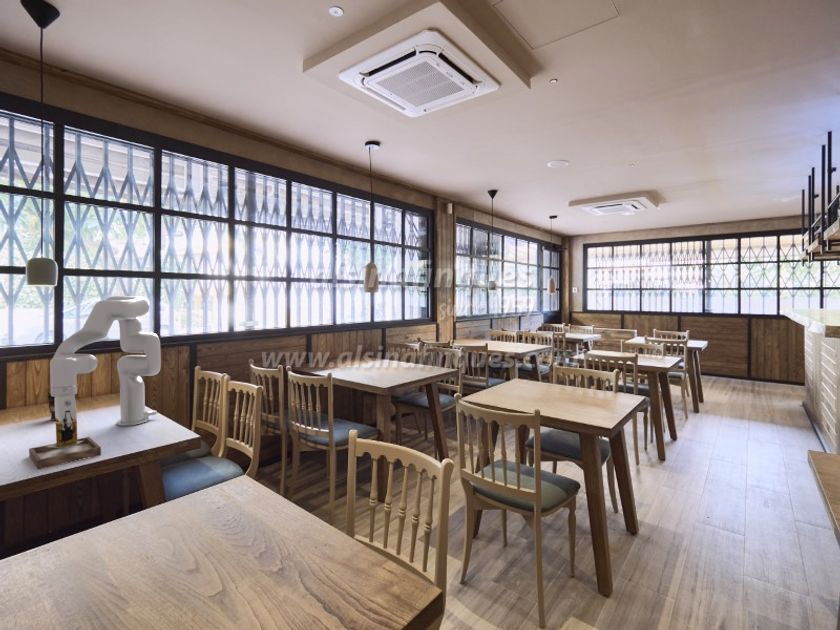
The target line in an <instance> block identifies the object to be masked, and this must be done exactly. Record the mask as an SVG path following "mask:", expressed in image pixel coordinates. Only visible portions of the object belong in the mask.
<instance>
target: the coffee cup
mask: <svg viewBox="0 0 840 630" xmlns="http://www.w3.org/2000/svg"><path fill="white" fill-rule="evenodd" d="M47 399H48V408H49V413H50V415H51V416H50V421H52V420H57V419H56V417H55V397H53V396H51V392H48V395H47Z"/></svg>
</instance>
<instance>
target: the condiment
mask: <svg viewBox="0 0 840 630" xmlns="http://www.w3.org/2000/svg"><path fill="white" fill-rule="evenodd" d="M71 419H72V417H71ZM65 421H66V420H63V422H65ZM77 421H78V419H77V420H76V421H74V420H72V429H73V439H72V440H68V441H62V437H61V431H62V423H60V422H59V421H58V419H57V421H55V435H56V436H55V437H56V438H55V441H56V442H55V443H52V444H53V445H50V444H49V445H50V446H47V447H54V448H69V447H71V446H74V445H76V444H79V443H81V442H83V441H77V439H78V422H77ZM65 424H66V423H65ZM65 424H64V426H65Z"/></svg>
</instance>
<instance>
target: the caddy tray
mask: <svg viewBox="0 0 840 630" xmlns="http://www.w3.org/2000/svg"><path fill="white" fill-rule="evenodd" d="M77 441H83V442H81V443H79V444H76V445H74V446H71V447H69V448H54V447H47V446H50V445H53V444H54V443H51V444H47V445H46V444H45V445H41V446H35V447H30V448H28V450H29V451H28V457H29V458H30V460H31V461H32V463H33V464H34V466H35V468H36V467H37V468H36V469H37V470H42V469H46V468H50V466H51V467H55V466H59V465H58V464H60V465H63V464H62V463H64V464H67V463H66V462H68V463H71V462H70V461H73V462H76V461H75V460H77V461H80V460H79V459H82V460H84V459H83V458H86V459H89V458H88V457H91V458H94V457H99V456H102V447H101V446H100V445H99V444H98V443H97V442H96V441H95V440H94V439H93V438H91V437H90V436H87V437H82V438H77ZM54 465H55V466H54ZM45 467H46V468H45ZM41 468H42V469H41Z"/></svg>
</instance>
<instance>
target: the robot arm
mask: <svg viewBox="0 0 840 630" xmlns="http://www.w3.org/2000/svg"><path fill="white" fill-rule="evenodd" d="M150 305H151V304H150V301H149V299H148V298H146V297H144V296H135V295H134V296H130V295H113V296H109V297H107V298H106V299H102V300H99V301H97V302H96V303H95V304H94V306H93V307H92V309H91V311H90V313H89V315H88V317H87V319H86V321H85V323H84V324H83V327H82V328H81V329H80V330H78V331H76V332H74V333H73V334H71V335H70V336H69V337H68V338H65V340H64V341H62V342H61V343H60V345H59V346H58V348H57V349H56V351H55V353H54V355H53V357H52V358H51V360H50V361H49V369H50V370H49V373H50V378H49V379H50V393H51V396H53V397H55V417H56V419H58V421H59V422H60V423H62V431H61V437H62V441H68V440H72V439H73V429H72V420H74V421H76V420H77V421H78V419H77V416H78V415H77V404H76V397H75V396H76V394H78V378H77V377H78V376H77V375H80V374H82V375H83V374H89V373H91V372H93V371H95V370H96V369H97V367H98V365H99V360H98V358H97V357H96V356H94V355H93V354H90V353H75V352H77V351H78V350H79V349H81V348H83V347H85V346H87V345H90V344H93V343H96V342H99V341H101V340H104V339H105V338H106V337H107V335H108V333H109V332H110V329H111V327H112V325H113V323H114V321H117V322H118V324H119V325H118V326H119V342H120V344H119V345H120V349H121V350H122V352H125V353H133V354H130V355H129V354H128V355H124V356H121V357H120V358H119V359H118V360H117V364H116V368H117V369H116V370H117V373H118V377H119V394H120V397H119V399H120V419H118V420H116V425H117V426H120V427H121V426H122V427H127V426H137V424H138V425H142V424H145V423H146V422H149V419H150V418H149V417H150V416H156V415H157V410H148V411H147V410H146V406H145V405H146V403H145V399H146V397H145V396H146V395H145V392H146V391H145V387H146V386H145V381H144V379H143V378H142V377H145V376H146V377H148V376H149V377H151V376H152V377H153V376H156V375H159V372H160V371H161V366H162V360H161V358H162V356H161V353H162V352H161V351H162V350H161V340H160V338H159V336H158V334H157V333H154V332H150V331H149V332H148V331H147V332H145V331H144V332H143V328H142V321H141V319H140V317H142V316H145V315H146V314H147V313H148V312H149V310H150V307H151V306H150ZM134 353H135V354H134ZM136 353H137V354H136ZM139 353H140V354H139ZM141 353H142V354H141ZM143 354H144V355H143ZM71 417H72V419H71ZM63 420H66V421H65V422H63ZM144 422H145V423H144ZM65 423H66V424H65ZM141 423H142V424H141ZM64 424H65V426H64Z"/></svg>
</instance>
